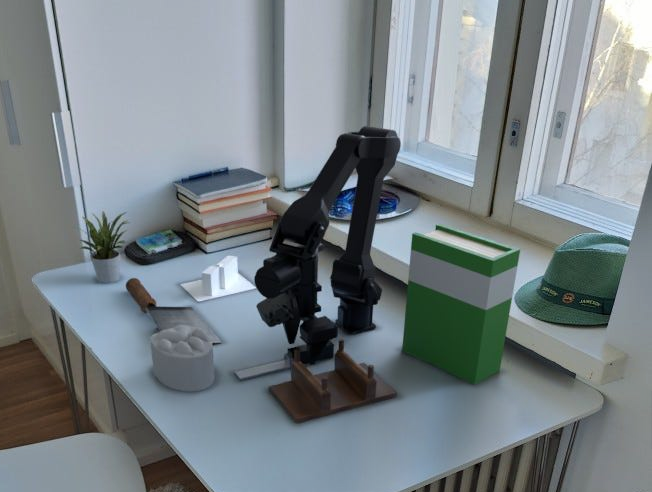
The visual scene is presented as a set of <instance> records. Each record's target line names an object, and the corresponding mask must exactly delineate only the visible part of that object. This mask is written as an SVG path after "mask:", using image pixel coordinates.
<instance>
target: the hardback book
mask: <svg viewBox="0 0 652 492" xmlns="http://www.w3.org/2000/svg"><path fill="white" fill-rule="evenodd" d="M520 254H521V248H517V247H514V246H511V245H508V244H505V243H502V242H499V241H497V240H492V239H490V238H486V237H483V236H480V235H476V234H474V233H470V232H467V231H464V230H461V229H457V228H454V227H452V226H448V225H445V224H441V223H437V224H435V229H434V230H432V231H430V232H427V233H424V234H422V233H420V232H413V233H411V244H410V257H409V267H408V279H407V290H406V301H405V313H404V325H403V336H402V347H401V351H403V352H405V353H407V354H409V355H411V356H413V357H415V358H418V359H419V360H422V361H424V362H426V363H428V364H430V365H432V366H434V367H436V368H439V369H441V370H442V371H445V372H447V373H449V374H451V375H453V376H456V377H458V378H459V379H462V380H464V381H466V382H468V383H470V384H472V385H477V384H478V383H480V382H482V381H484V380H486V379H488V378H489V377H491V376H493V375H495V374H497V373H499V372H501V364H502V360H503V353H504V349H505V342H506V336H507V329H508V323H509V318H510V312H511V307H512V301H513V296H514V290H515V289H514V288H515V282H516V276H517V271H518V266H519V261H520Z"/></svg>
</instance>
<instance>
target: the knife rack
mask: <svg viewBox="0 0 652 492" xmlns="http://www.w3.org/2000/svg"><path fill="white" fill-rule="evenodd" d="M337 348H338V349H337V350H336V351H335V353H334V365H333V366H334V367H333V370H329V371H325V372H320V373H317V374H314V373H312V371H311V370H310V369H309V368H308V367H307V366H306V364H303V363H302V362H301V361H300V349H295V360H294V361H293V362H292V364H291V368H290V380H288V381H284V382H280V383H276V384H272V385H268V391H269V392H270V394H271V395H272V396H273V397H274V399H275V400H276V401H277V402H278V403H279V404H280V405H281V407H282V408H283V409H284V410H285V411H286V412H287V413H288V415H289V416H290V417H291V418H292V420H293V421H294V422H295V423H296V424H300V423H303V422H307V421H311V420H316V419H318V418H322V417H326V416H329V415H333V414H337V413H341V412H345V411H348V410H349V411H350V410H352V409H356V408H360V407H364V406H368V405H371V404H375V403H379V402H382V401H386V400H390V399H395V398H398V391H397V390H396V389H394V388H393V386H391V385H390V383H388V382H386V380H385V379H383V377H381V376H380V374H379V375H378V373H376V372H375V365H374V364H367V363H365V362H362V363H358V362H357V361H356V360H355V359H354V358H353V357H351V356H350V354H348V353H347V351H345V338H338V347H337Z"/></svg>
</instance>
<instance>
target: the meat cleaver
mask: <svg viewBox="0 0 652 492" xmlns="http://www.w3.org/2000/svg"><path fill="white" fill-rule="evenodd" d="M125 289H126V291H127V292H128V293H129V294H130V295H131V297H132V298H133V300H134V301H135V303H136V304H137V305H138V306H139V309H140V311H141V312H143V313H144V314H148V316H149V318H150V319H151V321H153V323H154V325H155V326H156V327H157V329H158V330H159V332H160V331H162V330H166V329H171V328H174V327H176V326H178V325H188V326H194V327H196V328H202V329H204V330H205V332H206V334H207V335H208V336H209V337H210V338H211V340H212V344H222V343H223V342H222V341H221V339H220V338H219V337H218V336H217V335H216V334H215V333H214V331H213V330H212V329H211V328H210V327H209V326H208V325H207V323H206V322H205V321H204V320H203V319H202V317H201V316H200V315H199V314H198V313H197V312H196V311H195V309H194V308H193V307H192V306H157V300H156V299H155V298H154V297H152V296H151V294H150V293H149V292H148V290H147V288H145V287H144V285H143V284H142V282H141V281H140V279H138V278H136V277H132V278H130V279H128V280H127V281H126V284H125Z"/></svg>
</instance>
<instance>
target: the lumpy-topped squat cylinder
mask: <svg viewBox="0 0 652 492" xmlns="http://www.w3.org/2000/svg"><path fill="white" fill-rule="evenodd" d="M149 344H150V352H151V353H150V354H151V361H152V369H153V375H154V376H155V377H156V378H157V380H158V381H159V382H160V383H162V384H163V385H164V386H166V387H167V388H169V389H173V390H177V391H181V392H200V391H204V390H206V389H208V388H210V386H212V384H213V383H214V381H215V363H214V362H215V361H214V349H213V346H214V345H213V343H212V340H211V338H210V337H209V336H208V335H207V334H206V332H205V330H204V329H202V328H196V327H194V326H188V325H178V326H176V327H174V328H171V329H166V330H162V331H160V330H159V332H156V333H153V334H152V335H151V336H150V338H149Z"/></svg>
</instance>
